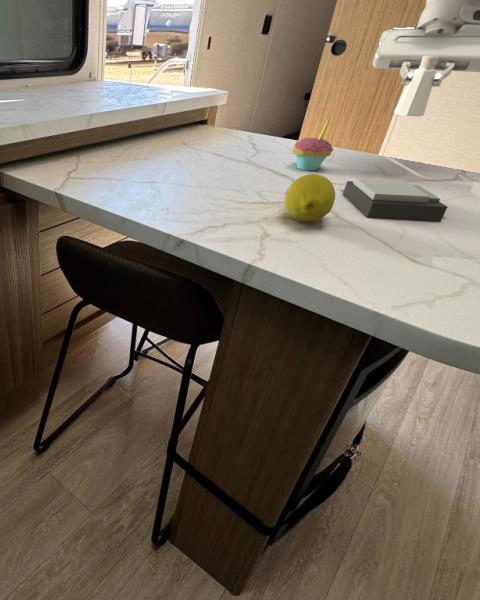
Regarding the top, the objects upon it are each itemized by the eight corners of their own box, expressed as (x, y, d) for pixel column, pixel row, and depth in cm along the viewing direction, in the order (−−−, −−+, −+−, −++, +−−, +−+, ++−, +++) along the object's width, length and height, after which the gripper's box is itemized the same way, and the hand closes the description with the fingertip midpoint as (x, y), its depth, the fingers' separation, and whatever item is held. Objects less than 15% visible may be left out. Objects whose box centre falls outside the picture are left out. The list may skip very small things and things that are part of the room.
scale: (405, 197, 84) (414, 178, 82) (440, 221, 74) (451, 200, 71) (342, 194, 86) (349, 175, 84) (367, 217, 75) (375, 196, 73)
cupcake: (333, 169, 101) (350, 116, 95) (313, 175, 97) (330, 120, 91) (300, 161, 107) (314, 111, 101) (280, 166, 103) (294, 115, 97)
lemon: (285, 207, 80) (297, 165, 76) (330, 215, 76) (345, 171, 72) (272, 225, 72) (284, 180, 68) (321, 235, 69) (337, 188, 64)
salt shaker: (425, 113, 90) (449, 55, 84) (421, 117, 87) (446, 56, 81) (395, 111, 93) (417, 54, 87) (391, 114, 90) (413, 55, 84)
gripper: (387, 16, 90) (366, 70, 89) (511, 13, 80) (490, 74, 79) (380, 39, 95) (360, 91, 94) (495, 40, 86) (475, 97, 84)
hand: (420, 83), depth 86 cm, fingers closed on salt shaker, 4 cm apart
